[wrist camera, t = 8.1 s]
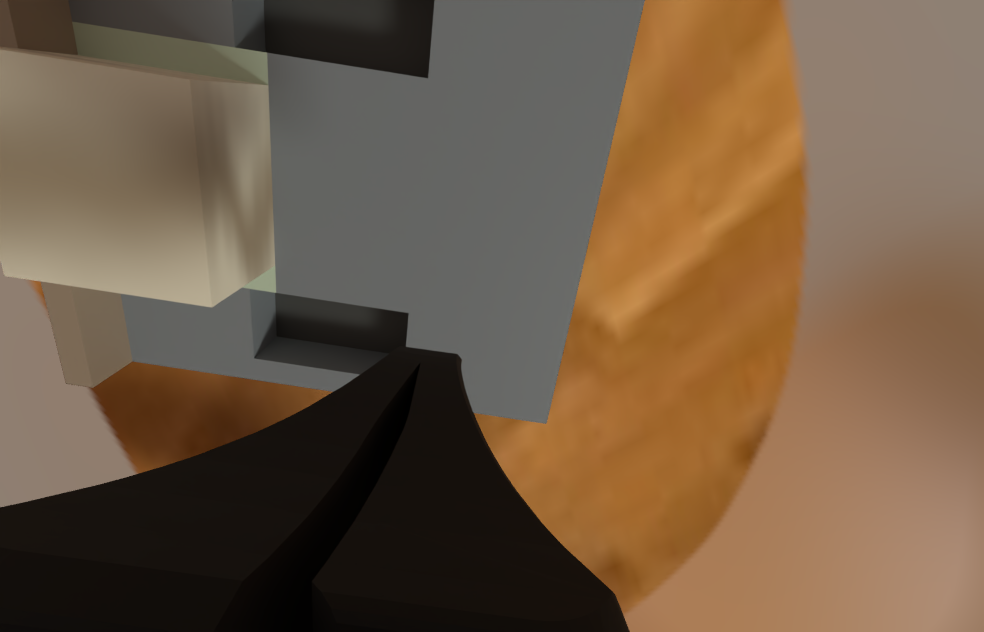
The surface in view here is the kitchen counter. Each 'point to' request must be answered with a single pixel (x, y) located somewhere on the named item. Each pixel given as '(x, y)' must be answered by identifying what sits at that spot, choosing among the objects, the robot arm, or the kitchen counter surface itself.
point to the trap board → (376, 183)
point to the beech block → (133, 177)
